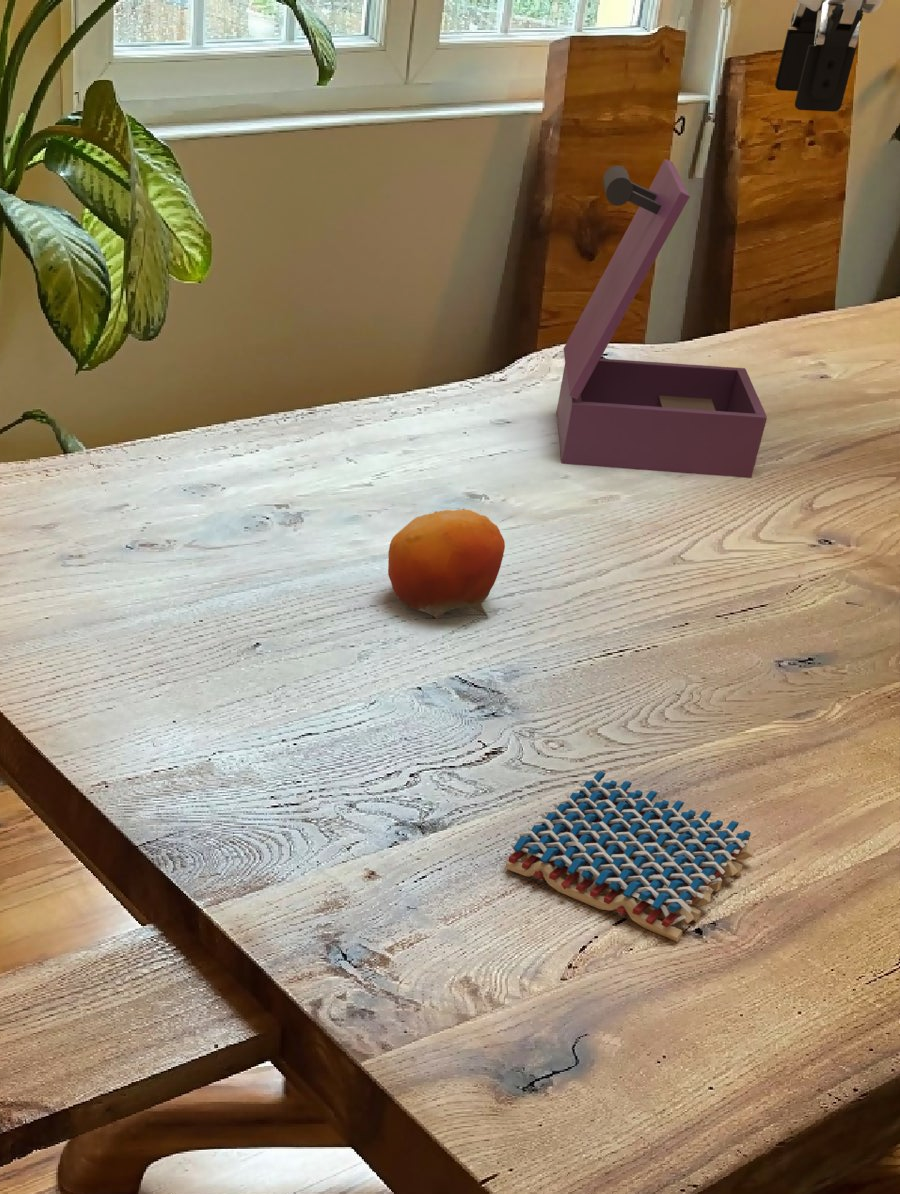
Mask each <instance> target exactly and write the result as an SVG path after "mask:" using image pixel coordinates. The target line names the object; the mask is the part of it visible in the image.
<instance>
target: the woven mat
mask: <svg viewBox="0 0 900 1194" xmlns="http://www.w3.org/2000/svg"><path fill="white" fill-rule="evenodd" d="M605 776H606V772H605V771H601V770H599V771H596V773H595V775H594V776H593V777H592V778H588V779H587V780H584V781H583V780H582V779H581V780H579V781H578V782H577V783H578V784H579V786H580V787H578V788H574V789H573V791H578V792H572V793H570V791H565V793H564V794H565V796H566V798H561V799H559V800H558V802H554V803H553V804H552V806H553V807H554V808H555V809H552V810H551V809H550V810H546V811H543V812H541V813H540V814H539V816H540V817H541V818H539V819H538V818H537V819H534V822H533V823H534V825H531V823H528V824H526V825H525V827H526V828H527V829H528V831H524V832H520V833H519V834H518V835H519V836H518V835H515V836H514V837H513V839H514V840H515V843H511V845H510V847H511V848H512V849H513V851H514V852H513V853H512V854H510V855H509V856H508V860H507V861H506V862H505V865H504V869H506V870H508V871H510V872H513V873H516V874H519V875H521V876H524V877H535V878H536V879H539V880H542V881H543V880H545V881H546V883H547V884H548V885H549V886H550V887H552V889H554V890H555V891H557V892H558V893H559V894H563V895H565V896H568V897H569V898H572V899H575V900H576V901H577V900H578V901H580V902H582V903H583V904H584V903H585V904H587V905H589V906H592V907H594V908H596V909H598V910H603V911H615V910H616V913H619V914H621V915H623V916H627V915H628V916H629V918H630V919H631V920H632V921H633V922H635V923H636V924H637V925H639V926H640V927H642V929H646V930H648V931H651V932H653V933H655V934H657V935H660V936H663V937H665V938H667V939H669V940H671V941H674V942H677V943H679V941H680V939H681V937H682V936H683V930H682V929H681V928H678V927H676V926H674V924H676V923H679V922H680V923H681V924H682V925H683V924H689V923H691V922H692V921H693V922H694V923H697V921H698V920H699V919H700V916H701V915H702V911H701V910H700V909H698V908H697V907H695V906H698V907H700V906H704V905H707V904H710V903H711V895H712V894H713V893H714V892H718V891H720V889H721V886H722V883H723V879H722V876H724V878H729V877H733V876H736V877H739V876H740V875H741V873H742V871H743V866H744V865H743V864H741V863H739V862H736V861H734V860H740V861H746V860H748V859H750V858H752V857H754V852H755V851H754V849H753V848H752V847H751V846H750V844H748V843H749V842H750V837H751V834H752V833H751V831H749V830H743V832H737V834H736V835H735V834H734V832H735V830H736V829H737V828H738V826H739V824H740V822H739V821H736V820H734V819H733V820H731V821H730V822H729V823H728V824H727V826H726V828H723V829H722V827H723V825H724V822H723V821H722V820H719V819H717V820H716V821H713V822H708V821H707V820H708V819H709V818H710V817H711V815H712V811H710V810H709V811H708V810H706V809H704V810H703V812H702V813H701V814H700V815H699V816H698V818H695V816H696V811H695V810H693V809H689V810H688V811H682V812H681V814H680V813H679V811H680V810H681V809H682V808H683V806H684V804H685V802H684V801H681V800H679V799H678V800H676V801H675V802H674V803H673V805H672V806H671V807H669V804H670V803H669V800H666V799H663V800H661V801H655V802H654V803H652V802H653V800H654V799H655V798H656V797H657V795H658V793H659V792H658V791H656V790H651V789H650V791H648V793H647V794H646V796H644V797H643V791H641V790H639V789H637V790H635V791H634V792H633V791H628V790H629V789H630V788H631V786H632V782H631V781H628V780H624V781H623V782H622V784H621V785H620V786H619V787H618V788H617V786H618V782H617V781H615V780H613V779H612V780H610V781H609V782H608V781H607V782H606V781H604V782H603V781H602V779H604V778H605ZM601 781H602V784H601ZM520 860H521V861H520Z"/></svg>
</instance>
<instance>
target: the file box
mask: <svg viewBox="0 0 900 1194" xmlns="http://www.w3.org/2000/svg"><path fill="white" fill-rule="evenodd" d="M559 389H560V390H559V396H558V403H557V407H556V413H555V414H556V424H557V434H558V435H557V436H558V442H559V452H560V453H559V454H560V461H561V462H560V463H561V464H562V465H570V466H571V465H573V466H585V467H598V468H612V469H626V470H640V471H651V472H652V471H653V472H665V473H667V472H668V473H678V474H679V473H680V474H691V475H704V476H705V475H706V476H717V477H718V476H720V477H731V478H744V479H752V478H753V477H752V476H753V473H754V470H755V466H756V462H757V458H758V453H759V450H760V447H761V442H762V438H763V435H764V431H765V427H766V424H767V420H768V416H767V415H766V411H765V409H764V407H763V405H762V403H761V400H760V398H759V396H758V393H757V391H756V389H755V387H754V385H753V382H752V380H751V378H750V375H749V373H748V371H747V369H746V368H744V367H735V366H734V367H733V366H719V365H704V364H703V365H702V364H687V363H672V362H660V361H646V360H645V361H644V360H642V361H641V360H627V359H616V358H615V359H613V358H600V360H599V362H598V364H597V365H596V367H595V369H594V371H593V373H592V374H591V376H590V378H589V380H588V382H587V383H586V385H585V387H584V389H583V391H582V393H581V394H580V396H579V398H578V399H575V398H573V397H571V396H569V388H568V380H567V372H566V364H565V363H564V366H563V373H562V378H561V384H560V388H559ZM659 395H660V396H674V397H689V398H703V399H712V402H713V405H714V407H715V410H716V411H710V410H695V409H681V408H667V407H656V406H657V401H658V397H659Z"/></svg>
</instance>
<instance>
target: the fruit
mask: <svg viewBox="0 0 900 1194" xmlns="http://www.w3.org/2000/svg"><path fill="white" fill-rule="evenodd" d="M505 548H506V542H505V539H504V537H503V534H502V533H501V530H500V529H499V527H498V526H497V524H495V523H494V522H493V521H491V519H490V518H489V516H486V515H484V514H479V513H478V512H475V511H473V510H471V509H456V510H451V509H443V510H440V511H434V512H432V513H428V514H422V515H421V516H417V517H415V518H413V519H412V520H411V521H410V522H409V523H407V524H406V525H405V526H403V528H402V529H400V531H398V532H397V533H396V534H394V536H393V537H392V538H391V541H390V543H389V547H388V552H387V554H388V562H387V563H388V564H387V565H388V567H387V572H388V573H387V574H388V578H389V580H390V583H391V587H392V591H393V592H394V595H396V597H397V598H398V600H399V601H401V602H402V603H403V604H404V605H406V606H407V607H408V608H410V609H411V610H413V611H419V612H422V613H425V614H428V615H431V616H433V617H434V618H435V619H436V621H437V622H438V621H439V619H440V618H442V615H444V614H445V613H448V612H449V611H451V610H455V609H469V610H474V611H478V612H480V613H482V615H484V616H485V618H487V619H489V616H488V613H486V611H485V609H484V607H483V603H484V601H485V600H486V599H487V598H488V597H489V595H490V592H491V590H492V589H493V587H494V585H495V583H496V581H497V578H498V575H499V572H500V569H501V566H502V562H503V558H504V553H505V550H506V549H505Z"/></svg>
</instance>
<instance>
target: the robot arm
mask: <svg viewBox="0 0 900 1194" xmlns="http://www.w3.org/2000/svg"><path fill="white" fill-rule="evenodd" d="M883 2H884V0H796V4H795V6H794V9H793V12H792V14H791V18H790V24H789V28H788V29H787V31H786V36H785V40H784V43H783V48H782V53H781V56H780V61H779V66H778V70H777V74H776V78H775V83H774V87H775V89H776V90H778V91H782V92H783V91H784V92H796V97H795V100H794V107H795V109H797V110H799V111H810V112H811V111H812V112H833V113H835V112H837V111H839V110H840V109H841V108H842V105H843V100H844V97H845V93H846V89H847V85H848V82H849V77H850V73H851V70H852V66H853V62H854V58H855V55H856V51H857V44H858V41H859V37H860V29H861V21H862V19H863V16H864V13H866V14H873V13H875V12H877V10H879V9H880V7H881V6H882V4H883Z"/></svg>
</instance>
